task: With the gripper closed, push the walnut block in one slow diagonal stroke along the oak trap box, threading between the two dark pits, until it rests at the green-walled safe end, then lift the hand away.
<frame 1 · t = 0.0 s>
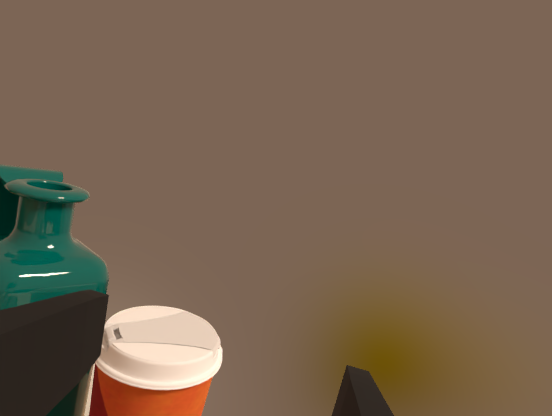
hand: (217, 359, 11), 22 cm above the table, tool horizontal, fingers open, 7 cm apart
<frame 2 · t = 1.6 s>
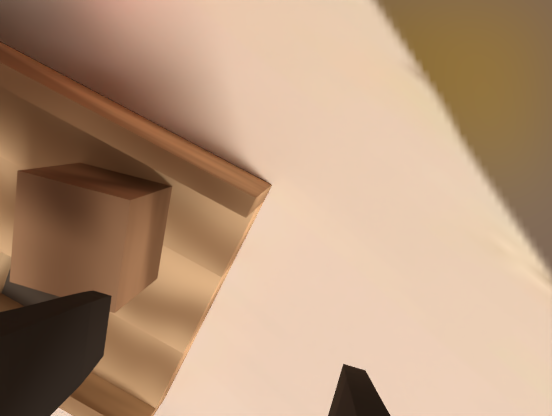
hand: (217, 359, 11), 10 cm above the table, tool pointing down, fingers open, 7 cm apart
block: (119, 221, 20), point 2 cm above the table, touching trap box
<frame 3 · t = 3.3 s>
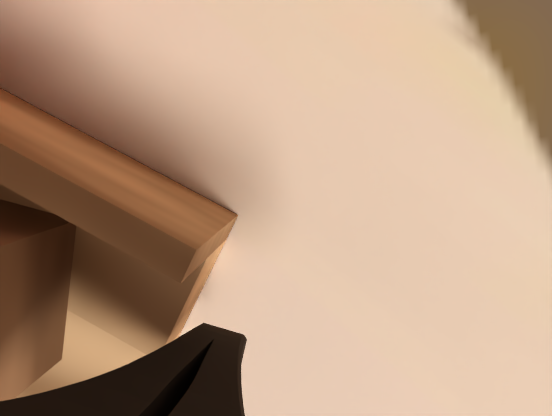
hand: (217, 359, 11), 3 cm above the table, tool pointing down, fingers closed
block: (0, 272, 13), point 2 cm above the table, touching trap box
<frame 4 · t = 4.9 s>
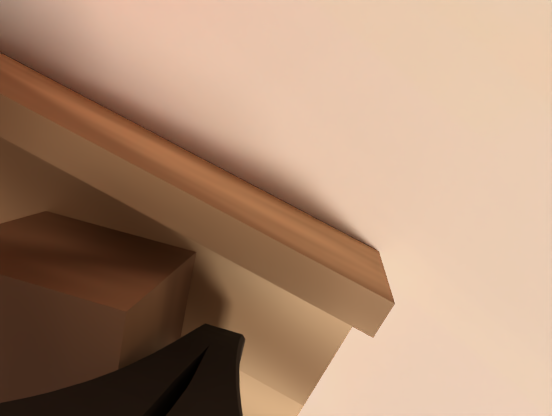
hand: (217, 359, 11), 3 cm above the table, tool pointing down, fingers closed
block: (109, 304, 13), point 2 cm above the table, touching gripper
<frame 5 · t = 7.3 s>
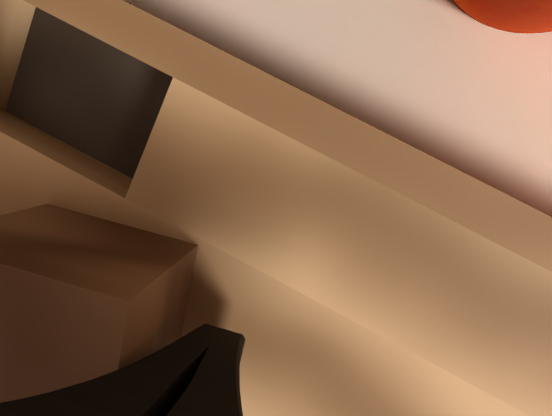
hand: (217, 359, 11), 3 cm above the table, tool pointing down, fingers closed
trap box: (238, 307, 14), on the table
block: (110, 297, 13), point 2 cm above the table, touching gripper
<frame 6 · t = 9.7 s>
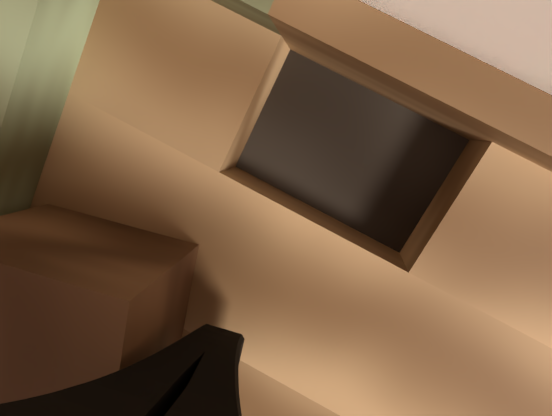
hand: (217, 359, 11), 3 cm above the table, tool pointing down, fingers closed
trap box: (480, 377, 13), on the table
block: (111, 297, 13), point 2 cm above the table, touching gripper, trap box
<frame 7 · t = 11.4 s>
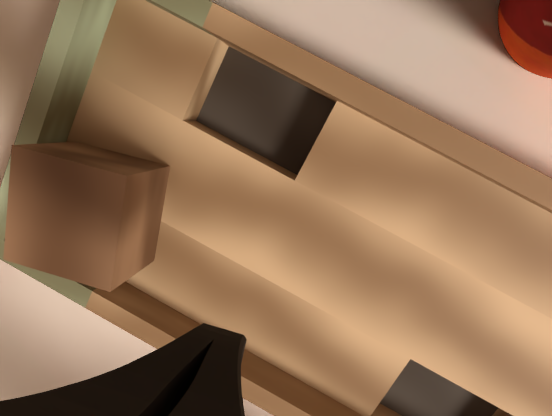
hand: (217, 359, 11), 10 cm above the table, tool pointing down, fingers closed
trap box: (352, 258, 21), on the table
block: (115, 202, 20), point 2 cm above the table, touching trap box
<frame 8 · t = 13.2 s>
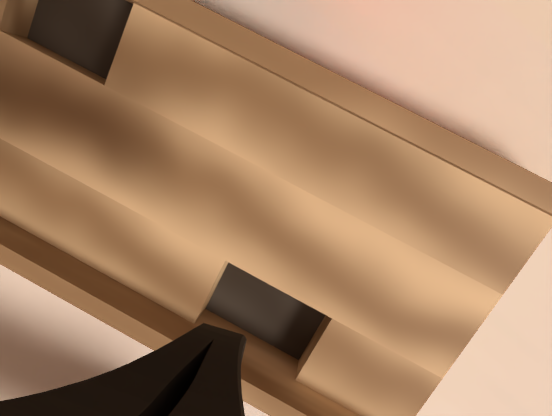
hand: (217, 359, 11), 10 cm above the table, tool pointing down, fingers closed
trap box: (181, 170, 21), on the table
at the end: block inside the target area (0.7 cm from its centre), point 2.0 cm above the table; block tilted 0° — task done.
